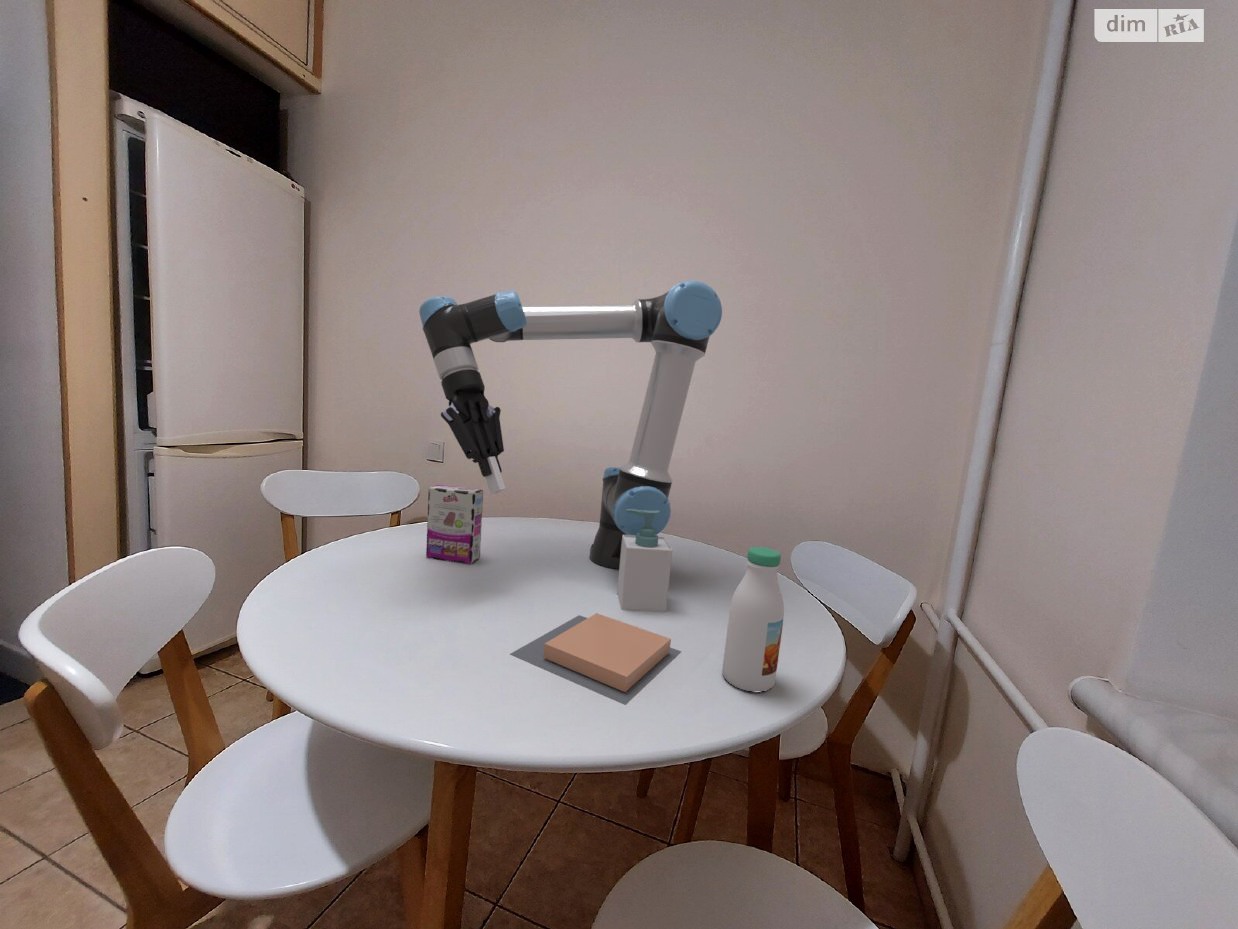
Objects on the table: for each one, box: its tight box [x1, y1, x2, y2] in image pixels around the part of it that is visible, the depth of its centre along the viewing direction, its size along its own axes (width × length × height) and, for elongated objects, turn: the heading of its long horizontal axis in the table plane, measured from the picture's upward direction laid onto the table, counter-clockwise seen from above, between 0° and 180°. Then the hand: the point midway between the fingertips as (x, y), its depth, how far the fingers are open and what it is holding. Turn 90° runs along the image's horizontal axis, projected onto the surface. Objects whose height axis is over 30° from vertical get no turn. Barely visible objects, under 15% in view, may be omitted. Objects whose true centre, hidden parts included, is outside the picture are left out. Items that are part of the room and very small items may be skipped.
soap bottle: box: [616, 509, 673, 613], centre depth 100 cm, size 9×9×19 cm
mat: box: [509, 614, 682, 706], centre depth 79 cm, size 20×18×1 cm
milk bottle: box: [721, 546, 785, 692], centre depth 76 cm, size 8×8×20 cm
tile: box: [543, 612, 672, 692], centre depth 78 cm, size 2×14×14 cm
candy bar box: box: [425, 484, 484, 565], centre depth 117 cm, size 11×5×16 cm, turn 81°
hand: (498, 491), depth 96 cm, fingers closed
